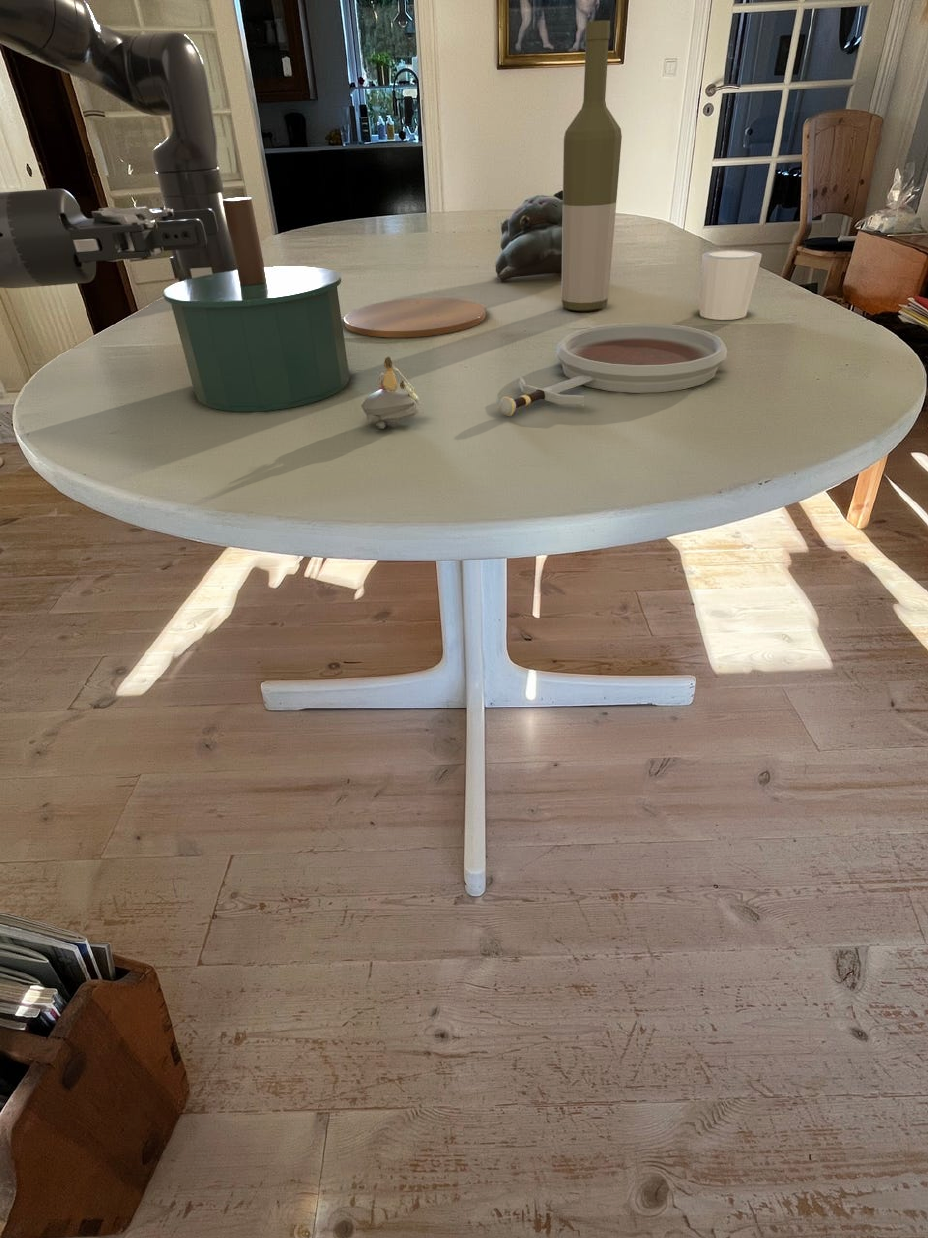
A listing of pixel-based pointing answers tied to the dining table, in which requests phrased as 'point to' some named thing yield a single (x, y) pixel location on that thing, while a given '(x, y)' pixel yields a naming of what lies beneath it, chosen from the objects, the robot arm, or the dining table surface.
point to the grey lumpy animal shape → (532, 238)
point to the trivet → (415, 317)
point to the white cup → (727, 283)
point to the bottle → (590, 184)
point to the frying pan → (629, 362)
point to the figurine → (390, 400)
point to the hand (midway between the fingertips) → (210, 226)
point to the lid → (249, 272)
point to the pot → (265, 353)
